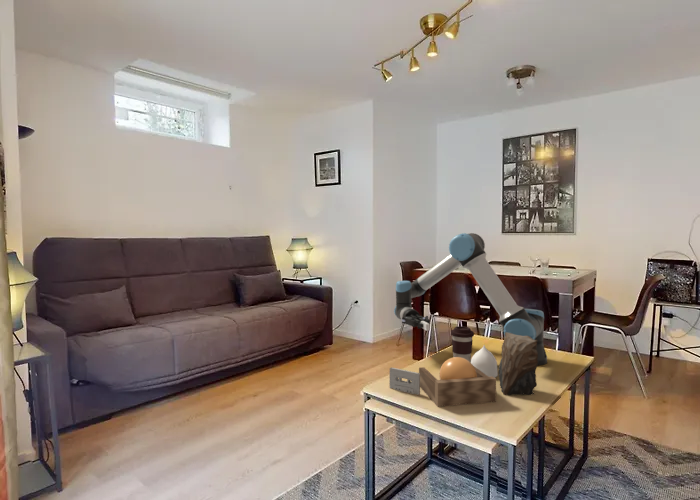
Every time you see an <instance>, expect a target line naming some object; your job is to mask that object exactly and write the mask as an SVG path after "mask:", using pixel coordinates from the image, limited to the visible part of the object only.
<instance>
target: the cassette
mask: <svg viewBox="0 0 700 500" xmlns="http://www.w3.org/2000/svg"><path fill="white" fill-rule="evenodd" d="M402 379H405V380H402ZM392 388H393V390H394V389H395V391H399V392H405V393H408V394H412V395H420V394H421V388H420V373H419V372H415V371H411V370H406V369H401V368H397V367H390V368H389V389H392Z"/></svg>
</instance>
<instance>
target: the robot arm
mask: <svg viewBox="0 0 700 500" xmlns="http://www.w3.org/2000/svg"><path fill="white" fill-rule="evenodd" d="M485 244H486V243H485V240H484V239H483V237H482V236H480V235H479V234H477V233H472V232H471V233H470V232H469V233H465V232H464V233H460V234H456V235H455V236H453V237H452V238H451V240H450V241H449V244H448V245H449V246H448V251H449V254H448V255H446V256H445V257H444V258H443V259H441V260H440V261H439V262H437V263H436V264H435V265H434V266H432V267H431V268H429V269H428V270H427V271H426V272H424V273H423V274H421V275H420V276H419V277H418V278H416V279H415V280H414V281H412V282H411V281H410V280H398V281H396V284H395V302H396V303H395V307H394V310H393V312H394V315H395V316H396V318H397V319H399V320H401V323H402V324H405V325H408V326H410V327H413V328H417V330H418V329H419V330H420V329H423V330H424V331H425V332H427V331H430V329H431V328H430V327H431V326H430V324H431V323H430V319H429V315H426V316H424V317H423V315H420V313H419V312H418V310H415V309H414V308H412V299H413V298H416V297H417V298H418V297H421V296H422V295H424V294H425V293H426V292H427V290H428V289H430V288H431V287H433V286H435V284H437V283H439V282H440V281H441V280H442V279H444V278H446V277H447V276H449V275H450V274H451V273H452V272H454V271H455V270H456V269H458V268H459V267H460V266H462V268H464V269H467V270H469V272H470V273H471V275H472V277H473V278H474V280H475V281H476V283H477V284H478V286H479V287H480V288H481V290H482V291H483V293H484V294H485V296H486V297H487V299H488V301H489V302H490V303H491V305H492V307H493V308H494V309H495V311H496V313H498V316H499V320H498V322H499V324H500V325H501V327H502V329H503V335H504V336H505V333H506V332H508V333H512V334H515V335H521V336H530V337H531V338H532V339H534V340H538V343H537V352H538V365H537V366H542V365H543V366H544V365H546V364H548V356H547V353H546V350H545V347H544V328H545V327H544V326H545V325H544V324H545V322H544V321H545V314H544V311H542V310H540V309H533V308H525V307H524V306H520V305H518V304H517V302H516V301H515V300H514V298H513V296H512V295H511V293H509V291H508V289H507V288H506V287H505V285H504V283H503V282H502V280H501V279H500V278H499V276H498V275H497V274H496V272H495V270H494V269H493V267H492V266H491V265H490V263H489V261H488V260H487V259H486V257H487V253H486V251H485V248H486V245H485Z"/></svg>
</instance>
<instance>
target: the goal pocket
mask: <svg viewBox="0 0 700 500" xmlns="http://www.w3.org/2000/svg"><path fill="white" fill-rule="evenodd" d="M474 368H475V370H476V373H477V378H463V379H448V380H440V379H437V378H436V377H435V376H434V375H433V374H432V373H431V372H429V370H428V369H427V368H426V367H424V366H423V367H419V368H418V373H420V390H422V391H423V392H424V393H425V394H426V396H427V397H428V398H429V399H430V400H431V401H432V402H433V403H434V405H435V406H437V408H438V407H449V406H450V407H451V406H462V405H474V404H475V405H476V404H485V403H496V401H497V379H496V378H497V377H495V378H494V377H493V376H491V377H489V376H487V375H486V374H484V373H483V372H482V371H480V370H479V369H477V368H476V367H474Z"/></svg>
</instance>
